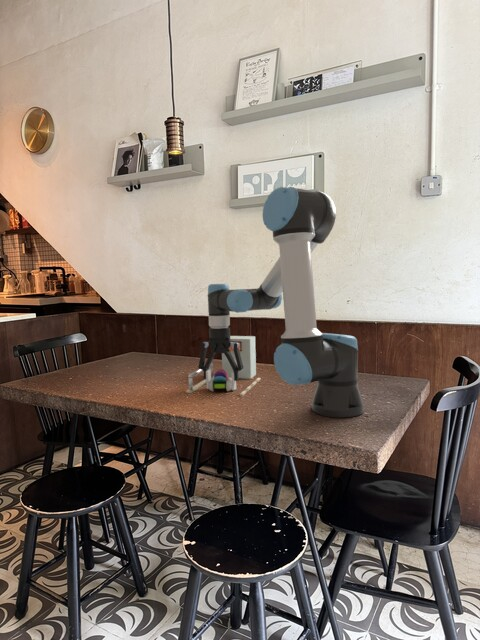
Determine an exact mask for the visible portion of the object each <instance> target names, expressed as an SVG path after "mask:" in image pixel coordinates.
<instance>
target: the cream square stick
mask: <svg viewBox="0 0 480 640" xmlns="http://www.w3.org/2000/svg"><path fill="white" fill-rule="evenodd" d="M261 380H262V379H261V377H257V378H256V379H255V380H254V381H252V383H251V384H250V385H249V386H247V387H246V388H245V389H244V390H242V391H241V392H240V393H239V396H240V397H243V396H244V395H245V394H247V393H248V392H249V391H250V390H251V389H252V388H253V387H254V386H255V385H256V384H258V382H260V381H261Z"/></svg>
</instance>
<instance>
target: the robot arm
mask: <svg viewBox="0 0 480 640" xmlns="http://www.w3.org/2000/svg"><path fill="white" fill-rule="evenodd" d="M336 216H337V212H336V206H335V204H334V201H333V199H331V197H330V196H329V195H328V194H326V193H325V192H322V191H320V190H311V189H302V188H297V187H293V186H289V187H283V186H280V187H278V188H275V189H274V190H272V191H271V192H270V193H269V195H268V196H267V199H266V200H265V201H264V204H263V209H262V222H263V225H265V227H266V229H268V230H269V231H270V232H272V237H273V241H274V242H275V243H276V244H278V247H279V257H278V259H277V261H276V262H275V263H274V265H273V267H272V268H270V271H269V272H268V274H267V275H266V277H265V279H264V280H263V281H262V283H260V285H259V287H257V288H240V289H238V288H237V289H230V286H229V284H228V283H210V284H209V285H208V286H207V303H208V304H207V308H208V326H209V328H208V334H209V335H208V336H209V340H208V341H203V342H201V344H200V346H201V350H200V357H199V363H198V369H202V370H203V380H205V379H206V384H205V385H206V390H209V388H208V383H209V382H210V380H211V370H210V369H209V366H210V364H211V363H213V359H214V358H215V355H216V354H218V353H219V354H222V353H224V354H225V356H226V357H227V359H228V361H229V363H230V365H231V367H232V369H233V372H232V389H231V391H235V390H237V381H239V379H240V378H239V375H238V372H239V371H240V370H242V369H243V364H242V360H241V356H240V352H239V343H238V342H237V343H234V342H231V340H230V336H231V327H229V326H230V325H231V317H230V314H231V313H230V312H232V313H233V312H234V313H236V314H237V313H246V312H250V311H262V310H263V311H264V310H265V311H266V310H272V309H277V308H278V307H280V305H282V304H281V303H282V299H283V310H284V322H285V323H284V324H285V331H284V332H283V334H281V335H280V342H281V344H280V345H278V346H277V347H276V349H275V351H274V353H273V364H274V367H275V370H276V372H277V374H278V375H279V377H280V378H281V379H282V381H284V382H285V383H287V384H289V385H292V386H301V385H303V386H305V385H308V384H310V383H315V382H317V386H316V389H315V391H314V396H313V399H312V401H311V410H312V412H314V413H315V414H318V415H320V416H325V417H331V418H351V417H357V416H360V415H362V414H363V413H364V407H365V406H364V401H363V398H362V395H361V392H360V389H359V385H358V384H359V383H358V377H359V376H358V373H359V372H358V367H359V366H358V363H359V362H358V360H359V357H358V356H359V354H358V353H359V347H358V339H357V338H356V337H355V336H353V335H349V334H338V333H327V332H321V331H320V330H319V329H318V328H317V315H316V314H317V313H316V301H315V290H314V289H315V288H314V277H313V276H314V275H313V262H312V253H313V251H314V249H316V248H317V246H318V245H321V244H323V243H324V242H325V241H326V239H327V238H328V237H329V236H330V234H331V232H332V230H333V228H334V225H335V223H336V219H337V217H336ZM230 346H232V348H233V349H234V354H235V358H236V362H237V364H236V362H235V361H234V359H233V357H232V355H231V352H230V350H229V347H230ZM208 347H210V349H211V350H210V352H209V355H208V358H207V359H206V357H207V353H208Z"/></svg>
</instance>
